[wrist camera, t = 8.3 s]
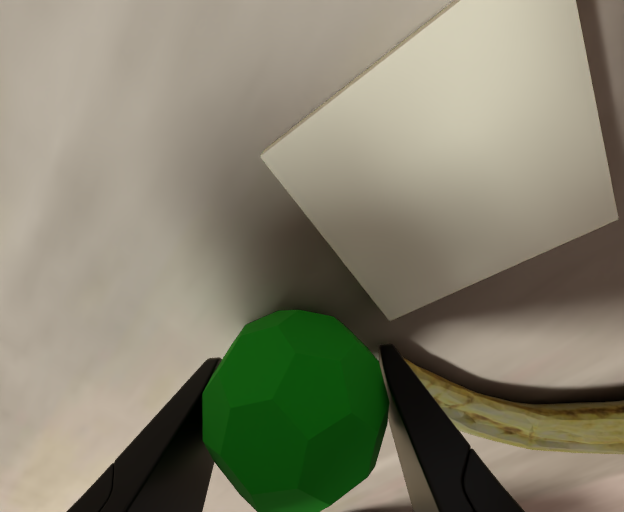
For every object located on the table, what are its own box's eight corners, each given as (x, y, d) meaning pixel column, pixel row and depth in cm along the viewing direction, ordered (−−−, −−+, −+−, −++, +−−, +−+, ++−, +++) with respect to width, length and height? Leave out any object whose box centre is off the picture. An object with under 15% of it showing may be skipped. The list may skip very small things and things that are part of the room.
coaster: (264, 149, 7) (260, 156, 7) (536, -64, 5) (560, -78, 5) (386, 307, 10) (389, 321, 9) (599, 208, 8) (618, 219, 7)
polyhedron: (269, 388, 12) (243, 548, 8) (201, 304, 10) (118, 471, 6) (390, 361, 11) (428, 532, 7) (347, 258, 9) (368, 428, 5)
